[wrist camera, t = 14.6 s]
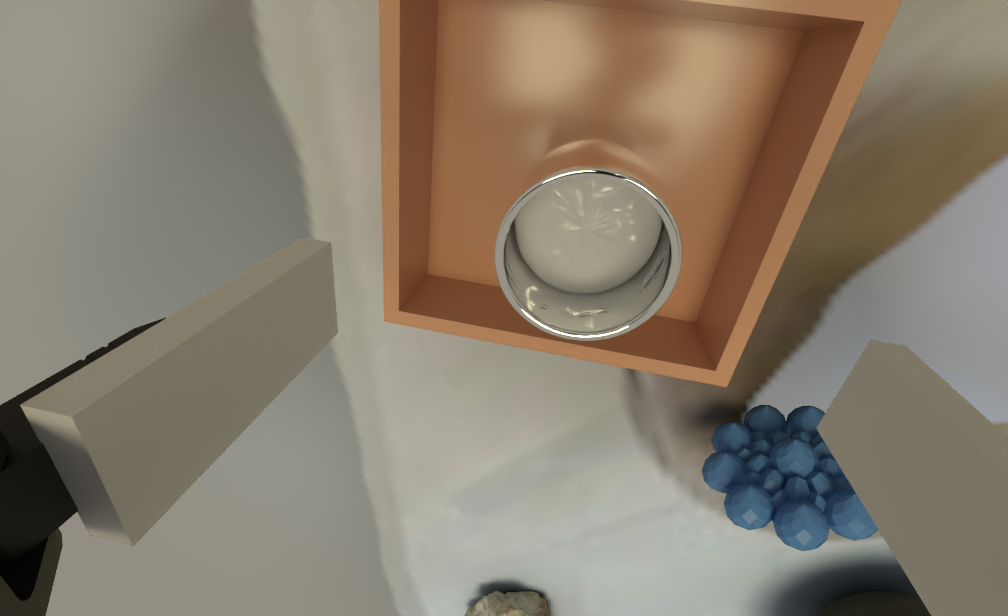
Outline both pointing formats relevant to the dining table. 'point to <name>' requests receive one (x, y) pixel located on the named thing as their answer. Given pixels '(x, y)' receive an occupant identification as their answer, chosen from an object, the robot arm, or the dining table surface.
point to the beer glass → (588, 239)
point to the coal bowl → (877, 605)
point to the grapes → (784, 478)
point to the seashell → (510, 605)
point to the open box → (646, 129)
